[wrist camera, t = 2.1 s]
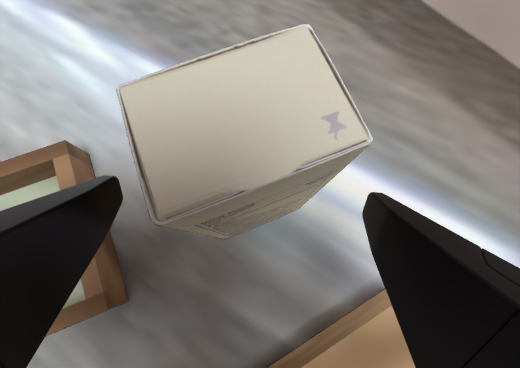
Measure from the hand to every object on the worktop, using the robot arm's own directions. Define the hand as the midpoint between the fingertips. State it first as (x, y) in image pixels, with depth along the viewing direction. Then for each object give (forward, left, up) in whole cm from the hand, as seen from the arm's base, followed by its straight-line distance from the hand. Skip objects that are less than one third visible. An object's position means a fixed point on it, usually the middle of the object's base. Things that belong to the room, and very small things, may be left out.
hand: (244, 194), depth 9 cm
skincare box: (+2, -1, -10) cm, 10 cm away
